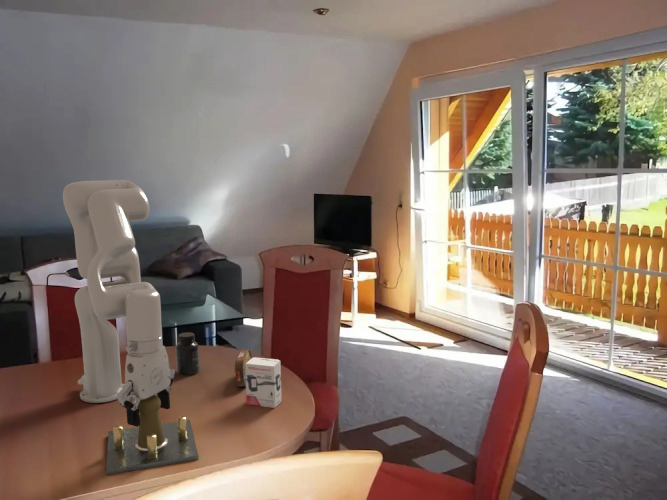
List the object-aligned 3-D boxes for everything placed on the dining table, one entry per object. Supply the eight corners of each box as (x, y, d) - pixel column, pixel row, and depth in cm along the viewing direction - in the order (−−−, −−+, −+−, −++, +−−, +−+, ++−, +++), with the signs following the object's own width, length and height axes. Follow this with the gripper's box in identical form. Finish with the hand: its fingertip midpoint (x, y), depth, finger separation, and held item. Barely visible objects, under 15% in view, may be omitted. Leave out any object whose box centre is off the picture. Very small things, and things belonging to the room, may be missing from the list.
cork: (150, 451, 135) (147, 404, 133) (131, 444, 138) (128, 399, 136) (170, 439, 140) (167, 394, 138) (152, 433, 143) (149, 389, 141)
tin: (245, 391, 172) (244, 362, 170) (234, 391, 172) (233, 362, 170) (253, 372, 186) (252, 345, 185) (243, 372, 187) (242, 345, 185)
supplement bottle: (196, 366, 191) (195, 330, 189) (202, 373, 185) (200, 336, 183) (174, 370, 189) (172, 333, 187) (179, 377, 182) (177, 339, 180)
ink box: (245, 404, 162) (244, 362, 160) (253, 397, 167) (252, 356, 165) (275, 408, 160) (274, 365, 158) (282, 401, 164) (281, 359, 162)
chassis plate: (106, 474, 127) (104, 448, 126) (108, 435, 145) (107, 412, 144) (198, 459, 133) (197, 433, 132) (189, 423, 151) (188, 400, 150)
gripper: (129, 359, 126) (134, 435, 129) (183, 336, 141) (187, 404, 144) (102, 353, 129) (108, 428, 132) (159, 331, 145) (162, 399, 148)
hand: (149, 416), depth 138 cm, fingers open, 9 cm apart
